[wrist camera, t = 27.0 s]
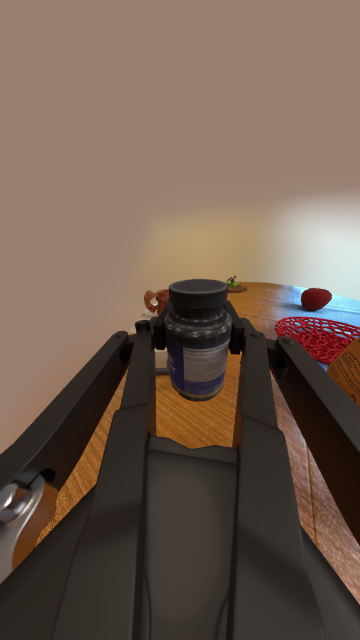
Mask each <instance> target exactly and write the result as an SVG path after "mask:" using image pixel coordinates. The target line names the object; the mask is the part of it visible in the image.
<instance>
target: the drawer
mask: <svg viewBox="0 0 360 640" xmlns="http://www.w3.org/2000/svg"><path fill="white" fill-rule="evenodd" d="M156 374H170V370H169V362H168V354H167V348H165V350H157V349H156V348H155V375H156Z"/></svg>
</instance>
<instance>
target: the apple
mask: <svg viewBox="0 0 360 640" xmlns="http://www.w3.org/2000/svg"><path fill="white" fill-rule="evenodd" d="M331 299H332V294H331V293H330V292H329V291H327V290H325V289H320V288H319V289H317V288H310V289H308V290H305V291H304V292H303V293H302V295H301V303H302V306H303V307H304V308H305V309H307V310H310V311H316V310H319V309H322V308H323V307H324V306H325V305H327V304H328V303H329V301H330V300H331Z"/></svg>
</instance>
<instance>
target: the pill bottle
mask: <svg viewBox="0 0 360 640" xmlns="http://www.w3.org/2000/svg"><path fill="white" fill-rule="evenodd" d="M227 293H228V285H227V284H226V283H224V282H221V281H217V280H208V279H192V280H183V281H178V282H175V283H172V284H171V285H170V286H169V301H170V303H171V304H172V305H173V308H172V309H171V310H170V311H169V312H168V313H167V315H166V316H165V319H164V329H165V337H166V345H167V354H168V362H169V370H170V379H171V383H172V386H173V388H174V389H175V390H176V391H177V392H178V393H179V395H180V396H182V397H183V398H185V399H187V400H190V401H207V400H210V399H212V398H214V397H215V396H216V395H217V394H218V393H219V392H220V390H221V389H222V386H223V381H224V375H225V369H226V363H227V357H228V350H229V344H230V338H231V331H232V319H231V316H230V314H229V313H228V312H227V311H226V310H225V309H223V305H224V304H225V303H226V301H227Z"/></svg>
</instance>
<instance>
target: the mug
mask: <svg viewBox="0 0 360 640" xmlns="http://www.w3.org/2000/svg"><path fill="white" fill-rule="evenodd" d="M154 297H156V300H157V301H158V305H156V306H153V305H152V304H151V303H150V300H152V299H153V298H154ZM144 301H145V305H146V307H147V309H148V310H149V311H151V312H153V313H154V312H155V311H156V310H157V309H158V311H157V313H158V315H160V313H161V312H162V310H163V309H164V307H165V306H166V304H167V302H168V301H169V290H168V289H166V290H159V291H158V292H157V293H154V292H152V291H150V290H149V291H147V292H146V294H145V296H144Z"/></svg>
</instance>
